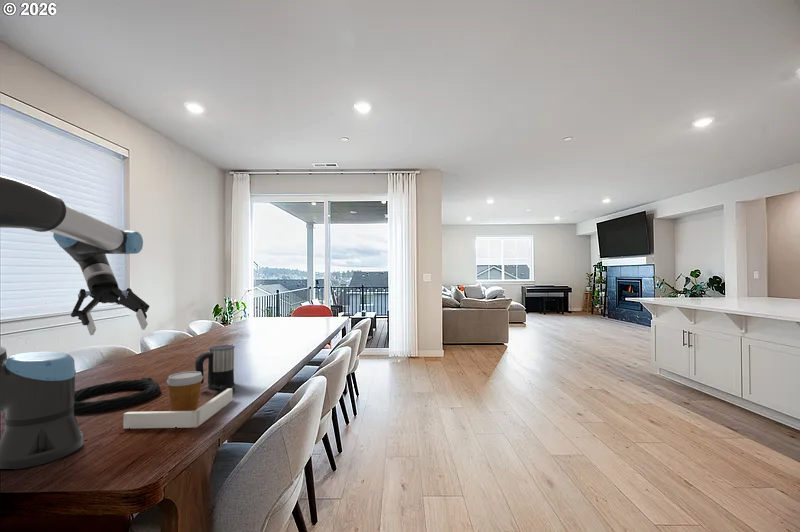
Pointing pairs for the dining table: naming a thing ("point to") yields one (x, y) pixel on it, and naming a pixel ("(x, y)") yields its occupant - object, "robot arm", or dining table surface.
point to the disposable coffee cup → (184, 390)
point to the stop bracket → (177, 415)
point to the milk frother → (218, 367)
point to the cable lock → (105, 405)
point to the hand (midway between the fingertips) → (120, 329)
